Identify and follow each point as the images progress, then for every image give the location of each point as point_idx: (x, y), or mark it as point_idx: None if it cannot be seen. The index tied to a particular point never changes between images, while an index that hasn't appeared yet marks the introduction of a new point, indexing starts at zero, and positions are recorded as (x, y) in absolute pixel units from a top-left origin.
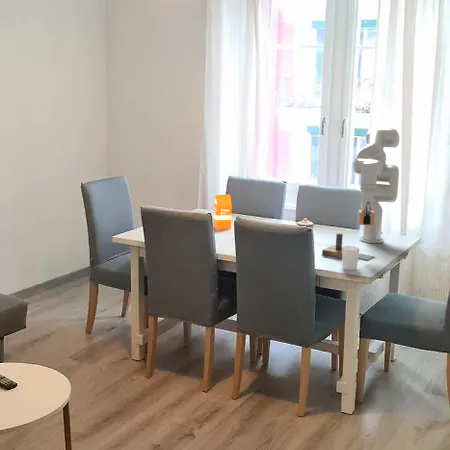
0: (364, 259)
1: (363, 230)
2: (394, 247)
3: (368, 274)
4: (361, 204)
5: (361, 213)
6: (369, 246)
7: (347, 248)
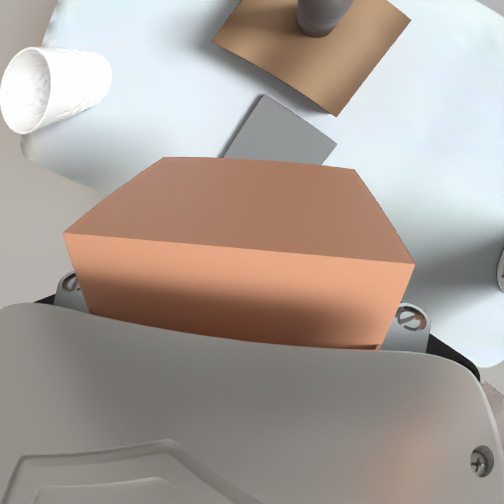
0: (228, 149)
1: None
2: (436, 312)
3: (43, 153)
4: (85, 452)
5: (79, 252)
6: (471, 229)
7: (57, 66)
